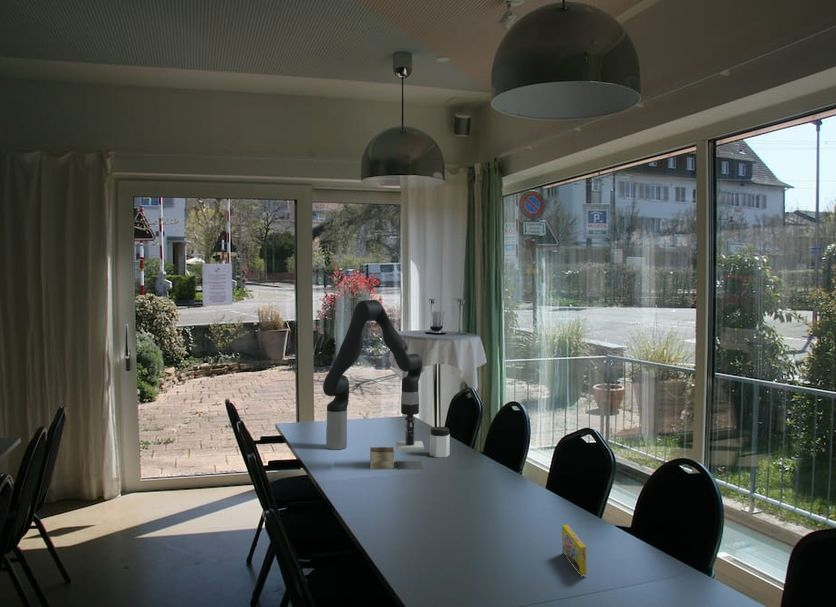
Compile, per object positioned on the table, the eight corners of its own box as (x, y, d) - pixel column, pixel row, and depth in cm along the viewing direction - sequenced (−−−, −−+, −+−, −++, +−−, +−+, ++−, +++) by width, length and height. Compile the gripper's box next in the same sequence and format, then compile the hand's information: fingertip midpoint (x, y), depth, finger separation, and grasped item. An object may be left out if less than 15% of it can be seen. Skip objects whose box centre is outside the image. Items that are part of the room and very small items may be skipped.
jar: (453, 455, 307) (453, 429, 306) (439, 458, 302) (439, 431, 301) (439, 452, 314) (440, 425, 313) (426, 454, 308) (426, 427, 308)
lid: (397, 451, 282) (397, 435, 282) (395, 445, 293) (396, 429, 293) (424, 451, 283) (424, 435, 283) (421, 445, 294) (422, 429, 294)
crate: (370, 469, 283) (370, 452, 282) (370, 463, 292) (370, 447, 292) (393, 469, 283) (394, 452, 283) (392, 463, 293) (393, 447, 293)
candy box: (561, 553, 198) (561, 524, 198) (568, 553, 198) (569, 524, 198) (579, 577, 182) (579, 546, 181) (587, 577, 182) (587, 546, 182)
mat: (397, 470, 282) (397, 469, 282) (396, 462, 295) (396, 461, 295) (423, 470, 282) (423, 469, 282) (420, 462, 295) (420, 460, 295)
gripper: (400, 399, 294) (399, 439, 295) (401, 405, 280) (401, 447, 281) (417, 399, 295) (417, 439, 296) (420, 405, 281) (420, 447, 281)
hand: (409, 443), depth 288 cm, fingers closed on lid, 3 cm apart
